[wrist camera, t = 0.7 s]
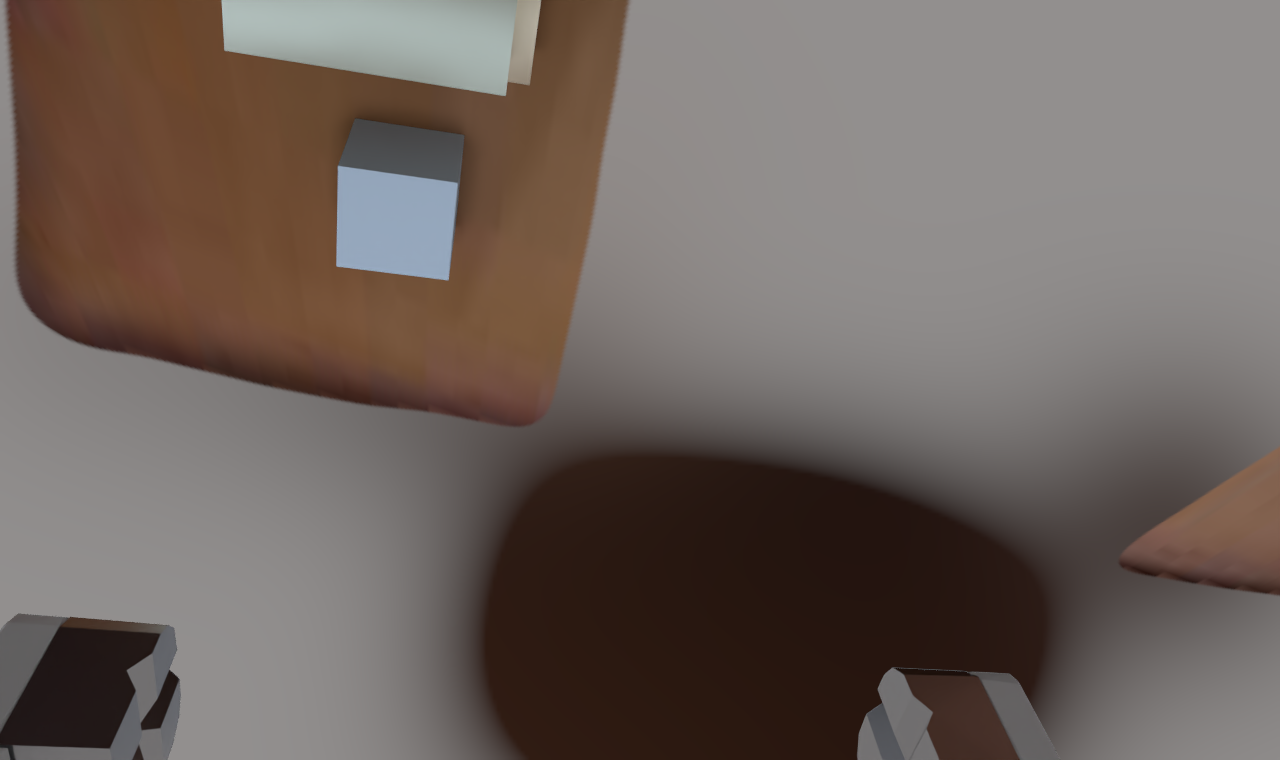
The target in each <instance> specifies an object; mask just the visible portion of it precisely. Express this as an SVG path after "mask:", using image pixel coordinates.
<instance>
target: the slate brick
mask: <svg viewBox="0 0 1280 760" xmlns="http://www.w3.org/2000/svg"><path fill="white" fill-rule="evenodd" d="M463 145H464V135H461V134H454V133H448V132H441V131H435V130H428V129H421V128H415V127H408V126H402V125H395V124H389V123H382V122H376V121H369V120H363V119H356V118H355V120H354V123H353V126H352V128H351V131H350V134H349V137H348V140H347V142H346V145H345V148H344V151H343V154H342V156H341V159H340V162H339V165H338V203H337V266H338V267H346V268H354V269H362V270H370V271H378V272H386V273H394V274H402V275H410V276H418V277H427V278H435V279H443V280H449V272H450V264H451V257H452V249H453V242H454V234H455V226H456V216H457V206H458V196H459V186H460V176H461V166H462V155H463Z"/></svg>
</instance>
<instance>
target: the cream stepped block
mask: <svg viewBox="0 0 1280 760" xmlns="http://www.w3.org/2000/svg"><path fill="white" fill-rule="evenodd" d="M540 5H541V0H222V15H223V32H224V50H225V51H231V52H237V53H243V54H249V55H255V56H262V57H268V58H274V59H280V60H286V61H292V62H299V63H305V64H311V65H317V66H323V67H329V68H336V69H342V70H348V71H354V72H360V73H367V74H373V75H379V76H385V77H391V78H397V79H404V80H410V81H416V82H422V83H428V84H434V85H441V86H447V87H453V88H459V89H465V90H471V91H478V92H484V93H490V94H496V95H502V96H506V89H507V82H513V83H519V84H525V85H530V78H531V70H532V63H533V56H534V49H535V41H536V34H537V27H538V20H539V12H540Z"/></svg>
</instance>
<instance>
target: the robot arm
mask: <svg viewBox="0 0 1280 760" xmlns="http://www.w3.org/2000/svg"><path fill="white" fill-rule="evenodd" d="M176 651H177V646H176V638H175V630H174V628H173V627H171V626H169V625H159V624H147V623H135V622H123V621H111V620H99V619H86V618H75V617H70V618H67V617H53V616H41V615H28V614H17V615H16V616H14V618H12V619H11V620H10V621H8V622H7V623H6V624H5V625H4V626H3V627H2V629H1V630H0V760H167V759H168V756H169V753H170V751H171V748H172V745H173V741H174V737H175V732H176V728H177V723H178V719H179V711H180V697H181V693H180V679H179V678H178V677H177V676H176V675H175V674H174V673H173V672H171V671H170V670H169V669H170V666H171V664H172V661H173V659H174V656H175V654H176ZM878 691H879V694H880V696H881V699H882V702H883V703H882V704H880V705H879V706H878V707H876V708H875V709H873V710H872V711H870V712H869V713H867V714H866V717H865V719H864V722H863V724H862V727H861V730H860V733H859V742H858V760H1060V758H1059V756H1058V754H1057V753H1056V750H1055V748H1054V747H1053V745H1052V743H1051V741H1050V739H1049V737H1048V736H1047V734H1046V732H1045V730H1044V728H1043V726H1042V724H1041V723H1040V721H1039V719H1038V717H1037V715H1036V713H1035V712H1034V710H1033V708H1032V706H1031V704H1030V702H1029V701H1028V699H1027V697H1026V695H1025V693H1024V691H1023V689H1022V688H1021V686H1020V684H1019V683H1018V681H1017V680H1016V679H1015V678H1013V677H1012V676H1011V675H1010V674H1004V673H985V672H966V671H952V670H931V669H930V670H929V669H909V668H892V669H891V670H889V671H888V672H887V673H886V674H885V675H884V677H883V679H882V681H881V683H880V685H879V687H878Z"/></svg>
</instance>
